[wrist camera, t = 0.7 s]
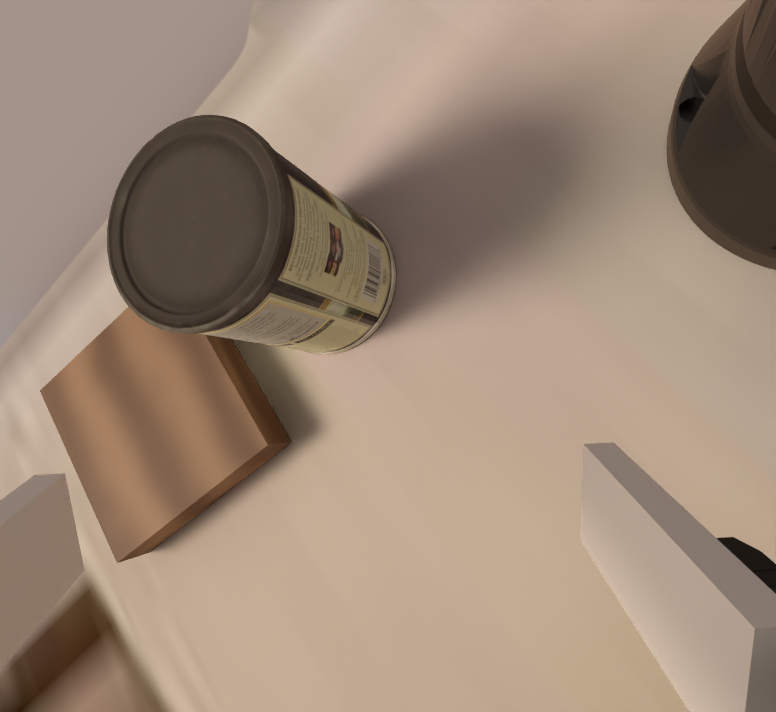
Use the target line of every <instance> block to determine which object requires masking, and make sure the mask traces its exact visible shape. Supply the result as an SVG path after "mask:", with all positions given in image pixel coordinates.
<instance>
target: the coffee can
mask: <svg viewBox="0 0 776 712" xmlns="http://www.w3.org/2000/svg"><path fill="white" fill-rule="evenodd" d="M107 252H108V258H109V265H110V269H111V273H112V276H113V279H114V282H115V284H116V286H117V289H118V291H119V293H120V294H121V296H122V298H123V299H124V301H125V302H126V304H127V305H128V306H129V307H130V309H131V310H132V311H133V312H134V313H135V314H136V315H137V316H139V317H140V318H141V319H143V320H144V321H145V322H147V323H148V324H150V325H153V326H155V327H157V328H159V329H162V330H165V331H170V332H175V333H184V334H204V335H211V336H217V337H223V338H230V339H236V340H242V341H248V342H254V343H260V344H266V345H272V346H278V347H284V348H290V349H296V350H302V351H305V352H308V353H313V354H324V355H329V354H336V353H340V352H343V351H346V350H349V349H352V348H354V347H356V346H357V345H358V344H360V343H361V342H363V341H365V340H366V339H367V338H368V337H369V336H370V335H371V334H373V333H374V331H375V330H376V329H377V328H378V327H379V325H380V324H381V323H382V321H383V319H384V318H385V316H386V314H387V312H388V310H389V308H390V306H391V302H392V299H393V295H394V290H395V283H396V268H395V262H394V257H393V254H392V251H391V247H390V245H389V243H388V242H387V240H386V238H385V236H384V235H383V234H382V232H381V231H380V230H379V229H378V228H377V227H376V226H375V225H374V224H373V223H372V222H371V221H369V220H368V219H367V218H365V217H363V216H361V215H359V214H358V213H357V212H356V211H354V210H353V209H352V208H350V207H349V206H348V205H346V204H345V203H344V202H342V201H341V200H340V199H338V198H337V197H336V196H334V195H333V194H332V193H330V192H329V191H328V190H326V189H325V188H324V187H322V186H321V185H320V184H318V183H317V182H316V181H314V180H313V179H312V178H310V177H309V176H308V175H307V174H305V173H304V172H303V171H301V170H300V169H299V168H297V167H296V166H295V165H293V164H292V163H291V162H289V161H288V160H287V159H285V158H284V157H283V156H281V155H280V154H279V153H277V152H276V151H275V150H274V149H273V148H272V147H271V146H270V145H269V143H268V142H267V141H266V140H265V139H264V138H262V137H261V136H260V135H259V134H258V133H257V132H256V131H254V130H253V129H252V128H250V127H249V126H247V125H246V124H244V123H242V122H240V121H237V120H235V119H232V118H228V117H224V116H217V115H200V116H195V117H191V118H187V119H184V120H182V121H179V122H177V123H175V124H173V125H171V126H169V127H167V128H166V129H164V130H163V131H162V132H160V133H158V134H157V135H156V136H155V137H154V138H153V139H152V140H150V141H149V142H148V143H147V144H146V145H145V146H144V147H143V148H142V149H141V150H140V151H139V153H138V154H137V155H136V156H135V157H134V159H133V160H132V162H131V163H130V165H129V166H128V168H127V170H126V171H125V173H124V175H123V177H122V179H121V181H120V183H119V186H118V188H117V190H116V193H115V196H114V199H113V202H112V206H111V211H110V215H109V220H108V227H107Z"/></svg>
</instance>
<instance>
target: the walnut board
mask: <svg viewBox="0 0 776 712" xmlns="http://www.w3.org/2000/svg"><path fill="white" fill-rule="evenodd" d="M40 392H41V394H42V396H43V399H44V401H45V403H46V405H47V408H48V410H49V412H50V414H51V416H52V419H53V421H54V423H55V425H56V428H57V430H58V432H59V434H60V436H61V439H62V441H63V443H64V445H65V448H66V450H67V452H68V454H69V457H70V459H71V461H72V463H73V465H74V468H75V470H76V472H77V474H78V477H79V479H80V481H81V483H82V486H83V488H84V490H85V492H86V494H87V497H88V499H89V501H90V503H91V506H92V508H93V510H94V512H95V514H96V517H97V519H98V521H99V523H100V526H101V528H102V530H103V532H104V535H105V537H106V539H107V541H108V543H109V546H110V548H111V550H112V552H113V555H114V557H115V559H116V561H117V563H118V562H122V561H125V560H128V559H131V558H134V557H137V556H140V555H143V554H146V553H149V552H150V551H152V550H153V549H154V548H156V547H157V546H158V545H159V544H161V543H162V542H163V541H165V540H166V539H167V538H168V537H170V536H171V535H172V534H174V533H175V532H176V531H178V530H179V529H180V528H181V527H183V526H184V525H185V524H187V523H188V522H189V521H190V520H192V519H193V518H194V517H196V516H197V515H198V514H199V513H201V512H202V511H203V510H205V509H206V508H207V507H209V506H210V505H211V504H212V503H214V502H215V501H216V500H218V499H219V498H220V497H221V496H223V495H224V494H225V493H227V492H228V491H229V490H231V489H232V488H233V487H234V486H236V485H237V484H238V483H240V482H241V481H242V480H243V479H245V478H246V477H247V476H249V475H250V474H251V473H252V472H254V471H255V470H256V469H258V468H259V467H260V466H262V465H263V464H264V463H265V462H267V461H268V460H269V459H271V458H272V457H273V456H274V455H276V454H277V453H278V452H280V451H281V450H282V449H283V448H285V447H286V446H287V445H289V444H290V443H291V440H290V438H289V437H288V435H287V433H286V431H285V430H284V428H283V426H282V424H281V423H280V421H279V419H278V418H277V416H276V414H275V412H274V411H273V409H272V407H271V406H270V404H269V402H268V400H267V399H266V397H265V395H264V394H263V392H262V390H261V388H260V387H259V385H258V383H257V382H256V380H255V378H254V376H253V375H252V373H251V371H250V369H249V368H248V366H247V364H246V363H245V361H244V359H243V357H242V356H241V354H240V352H239V351H238V349H237V347H236V345H235V344H234V342H233V340H232V339H230V338H223V337H217V336H211V335H204V334H184V333H175V332H170V331H165V330H162V329H159V328H157V327H155V326H153V325H150V324H148V323H147V322H145V321H144V320H143V319H141V318H140V317H139V316H137V315H136V314H135V313H134V312H133V311H132V310H131V309H130V307H128V308H127V309H126V310H125V311H124V312H123V313H122V314H121V315H119V316H118V317H117V318H116V319H115V320H114V321H113V322H112V323H111V324H110V325H109V326H108V327H107V328H106V329H105V330H104V331H103V332H102V333H100V334H99V335H98V336H97V337H96V338H95V339H94V340H93V341H92V342H91V343H90V344H89V345H88V346H87V347H86V348H85V349H84V350H82V351H81V352H80V353H79V354H78V355H77V356H76V357H75V358H74V359H73V360H72V361H71V362H70V363H69V364H68V365H67V366H66V367H65V368H63V369H62V370H61V371H60V372H59V373H58V374H57V375H56V376H55V377H54V378H53V379H52V380H51V381H50V382H49V383H48V384H47V385H46V386H44V387H43V388H42V389H41V390H40Z"/></svg>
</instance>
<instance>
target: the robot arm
mask: <svg viewBox="0 0 776 712" xmlns="http://www.w3.org/2000/svg"><path fill="white" fill-rule="evenodd" d="M667 161H668V168H669V174H670V178H671V181H672V185H673V187H674V190H675V192H676V195H677V197H678V199H679V201H680V203H681V204H682V206H683V208H684V209H685V211H686V212H687V214H688V215H689V216H690V218H691V219H692V220H693V221H694V223H695V224H696V225H697V226H698V227H699V228H700V229H701V230H702V231H703V232H704V233H705V234H706V235H707V236H708V237H710V238H711V239H712V240H713V241H715V242H716V243H717V244H719V245H720V246H722V247H723V248H725V249H726V250H728V251H730V252H731V253H733V254H735V255H737V256H739V257H741V258H743V259H745V260H748V261H750V262H752V263H755V264H758V265H761V266H764V267H767V268H771V269H775V270H776V0H746V1H745V2H744V3H743V4H742V5H741V6H740V7H739V8H738V9H737V10H736V11H735V12H734V13H733V14H732V15H731V16H730V17H729V18H728V19H727V20H726V21H725V22H724V23H723V24H722V25H721V26H720V27H719V28H718V30H717V31H716V32H715V33H714V34H713V35H712V36H711V37H710V38H709V40H708V41H707V42H706V43H705V45H704V46H703V47H702V49H701V50H700V52H699V53H698V54H697V56H696V57H695V59H694V61H693V62H692V64H691V66H690V68H689V69H688V71H687V73H686V75H685V77H684V79H683V81H682V83H681V86H680V88H679V91H678V94H677V97H676V100H675V104H674V108H673V112H672V116H671V120H670V125H669V130H668V136H667ZM581 543H582V544H583V546H584V548H585V549H586V551H587V552H588V554H589V555H590V557H591V559H592V560H593V562H594V563H595V565H596V566H597V568H598V570H599V571H600V573H601V574H602V576H603V577H604V579H605V580H606V582H607V584H608V585H609V587H610V588H611V590H612V591H613V593H614V595H615V596H616V598H617V599H618V601H619V602H620V604H621V606H622V607H623V609H624V610H625V612H626V613H627V615H628V617H629V618H630V620H631V621H632V623H633V624H634V626H635V628H636V629H637V631H638V632H639V634H640V635H641V637H642V638H643V640H644V642H645V643H646V645H647V646H648V648H649V649H650V651H651V653H652V654H653V656H654V657H655V659H656V660H657V662H658V664H659V665H660V667H661V668H662V670H663V671H664V673H665V675H666V676H667V678H668V679H669V681H670V682H671V684H672V686H673V687H674V689H675V690H676V692H677V693H678V695H679V697H680V698H681V700H682V701H683V703H684V704H685V706H686V707H687V709H688V711H689V712H776V564H775V563H774V562H773V561H771V560H770V559H769V558H768V557H767V556H766V555H764V554H763V553H762V552H761V551H759V550H757V549H755V548H753V547H751V546H749V545H747V544H745V543H744V542H742V541H740V540H738V539H736V538H734V537H728V538H715V537H714V536H713V535H712V534H711V533H710V532H709V531H708V530H707V529H706V528H705V527H704V526H703V525H701V524H700V523H699V522H698V521H697V520H696V519H695V518H694V517H693V516H692V515H691V514H690V513H689V512H688V511H686V510H685V509H684V508H683V507H682V506H681V505H680V504H679V503H678V502H677V501H676V500H675V499H674V498H673V497H671V496H670V495H669V494H668V493H667V492H666V491H665V490H664V489H663V488H662V487H661V486H660V485H659V484H658V483H656V482H655V481H654V480H653V479H652V478H651V477H650V476H649V475H648V474H647V473H646V472H645V471H644V470H643V469H641V468H640V467H639V466H638V465H637V464H636V463H635V462H634V461H633V460H632V459H631V458H630V457H629V456H628V455H626V454H625V453H624V452H623V451H622V450H621V449H620V448H619V447H618V446H617V445H616V444H615V443H597V444H584V448H583V479H582V510H581ZM83 571H84V565H83V560H82V555H81V551H80V546H79V541H78V536H77V531H76V526H75V521H74V516H73V511H72V506H71V501H70V496H69V491H68V486H67V481H66V476H65V474H48V475H34V476H33V477H31V478H30V479H29V480H27V481H26V482H25V483H23V484H22V485H21V486H19V487H18V488H17V489H15V490H14V491H13V492H11V493H10V494H9V495H7V496H6V497H5V498H3V499H2V500H1V501H0V671H1V669H2V668H3V667H4V666H5V665H6V663H7V662H8V661H9V660H10V659H11V657H12V656H13V655H14V654H15V653H16V651H17V650H18V649H19V648H20V647H21V645H22V644H23V643H24V642H25V641H26V639H27V638H28V637H29V636H30V635H31V633H32V632H33V631H34V630H35V629H36V627H37V626H38V625H39V624H40V623H41V621H42V620H43V619H44V618H45V617H46V615H47V614H48V613H49V612H50V611H51V609H52V608H53V607H54V606H55V605H56V603H57V602H58V601H59V600H60V599H61V597H62V596H63V595H64V594H65V593H66V591H67V590H68V589H69V588H70V587H71V585H72V584H73V583H74V582H75V581H76V579H77V578H78V577H79V576H80V575H81V573H82V572H83Z"/></svg>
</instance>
